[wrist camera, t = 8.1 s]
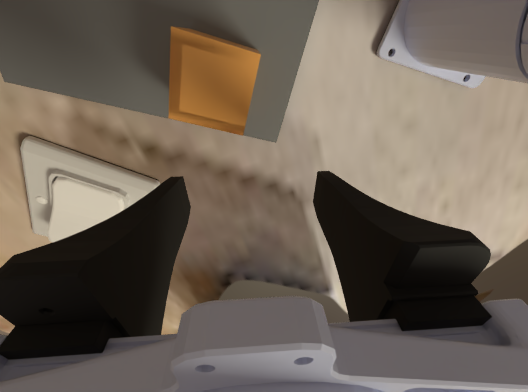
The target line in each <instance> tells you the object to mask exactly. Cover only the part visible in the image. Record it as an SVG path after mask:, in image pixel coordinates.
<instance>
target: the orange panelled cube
mask: <svg viewBox="0 0 528 392" xmlns="http://www.w3.org/2000/svg"><path fill="white" fill-rule="evenodd" d="M260 57H261V54H260V52H259V51H258V50H256V49H253V48H250V47H247V46H243V45H240V44H237V43H234V42H231V41H228V40H224V39H221V38H218V37H215V36H212V35H209V34H205V33H202V32H199V31H196V30H193V29H189V28H181V27H173V26H171V40H170V78H169V116H168V118H170V119H174V120H179V121H183V122H187V123H191V124H196V125H200V126H204V127H208V128H213V129H217V130H221V131H226V132H230V133H234V134H238V135H243V134H244V129H245V125H246V120H247V116H248V111H249V107H250V102H251V98H252V93H253V88H254V84H255V79H256V75H257V70H258V66H259V61H260Z"/></svg>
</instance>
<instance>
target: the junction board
mask: <svg viewBox="0 0 528 392" xmlns="http://www.w3.org/2000/svg"><path fill="white" fill-rule="evenodd" d="M318 2H319V0H0V71H1V74H2V77H3V79H4V82H8V83H13V84H17V85H22V86H26V87H31V88H35V89H40V90H44V91H48V92H53V93H57V94H62V95H66V96H71V97H75V98H80V99H84V100H89V101H93V102H97V103H102V104H106V105H111V106H115V107H120V108H124V109H129V110H133V111H138V112H142V113H146V114H151V115H155V116H160V117H164V118H168V116H169V78H170V40H171V26H173V27H181V28H189V29H193V30H196V31H199V32H202V33H205V34H209V35H212V36H215V37H218V38H221V39H224V40H228V41H231V42H234V43H237V44H240V45H243V46H247V47H250V48H253V49H256V50H258V51H259V52H260V54H261V57H260V61H259V66H258V70H257V75H256V79H255V84H254V88H253V93H252V98H251V102H250V107H249V111H248V116H247V120H246V125H245V129H244V134H243V135H244V136H249V137H253V138H258V139H262V140H267V141H271V142H276V141H277V138H278V135H279V131H280V128H281V125H282V121H283V118H284V115H285V111H286V108H287V105H288V101H289V98H290V95H291V91H292V88H293V85H294V81H295V78H296V75H297V71H298V68H299V65H300V62H301V58H302V55H303V52H304V48H305V45H306V42H307V38H308V35H309V32H310V28H311V25H312V22H313V18H314V15H315V12H316V8H317V5H318ZM169 119H170V118H169ZM173 120H174V119H173ZM178 121H179V120H178ZM182 122H183V121H182ZM186 123H187V122H186ZM195 125H196V124H195Z"/></svg>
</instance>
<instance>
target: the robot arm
mask: <svg viewBox="0 0 528 392" xmlns="http://www.w3.org/2000/svg"><path fill="white" fill-rule="evenodd" d="M390 49H392V50H393V52H392V54H391V55H390V56H388V52H389V50H390ZM377 55H378V57H379V58H382V59H385V60H388V61H391V62H394V63H397V64H400V65H403V66H406V67H409V68H412V69H415V70H418V71H421V72H424V73H427V74H430V75H433V76H436V77H439V78H442V79H445V80H448V81H451V82H454V83H457V84H460V85H463V86H466V87H469V88H476V87H477V86H479V85H480V84H481V82H482V81H483V80H484V78H485V77H486V76H487V77H493V78H499V79H504V80H510V81H516V82H522V83H528V0H400V1H399V3H398V5H397V7H396V10H395V12H394V14H393V16H392V18H391V21H390V23H389V25H388V27H387V29H386V32H385V34H384V36H383V38H382V40H381V42H380V45H379V47H378V49H377ZM465 76H466V78H465V80H463V79H464V77H465ZM313 204H314V208H315V212H316V215H317V218H318V221H319V223H320V226H321V228H322V230H323V233H324V235H325V237H326V240H327V242H328V245H329V247H330V249H331V252H332V255H333V258H334V261H335V265H336V268H337V271H338V275H339V279H340V282H341V286H342V290H343V294H344V298H345V302H346V306H347V311H348V315H349V320H350V322H341V323H327V319H326V316H325V312H324V309H323V305H321V304H320V303H318V302H316V301H314V300H312V299H310V298H309V297H299V296H282V297H266V298H252V299H251V298H250V299H235V300H219V301H209V302H205V303H200V304H196V305H194V306H193V307H191V308H190V309H189V310H187V311H186V312H184V313H183V314H182V316H181V320H180V325H179V329H178V333H177V334H168V335H161V331H162V324H163V318H164V312H165V306H166V300H167V295H168V290H169V285H170V280H171V275H172V271H173V266H174V263H175V259H176V256H177V253H178V250H179V247H180V244H181V242H182V239H183V236H184V233H185V230H186V227H187V224H188V219H189V214H190V208H191V206H190V202H189V198H188V194H187V190H186V186H185V182H184V178H183V177H170V178H169V179H167V180H166V181H164V182H163V183H162V184H160V185H159V186H158V187H156V188H155V189H154V190H152V191H151V192H150V193H148V194H147V195H146V196H144V197H143V198H141V199H140V200H138V201H137V202H135V203H134V204H132V205H131V206H129V207H128V208H126V209H124V210H123V211H121V212H119V213H118V214H116V215H114V216H112V217H110V218H109V219H107V220H105V221H103V222H100V223H98V224H96V225H94V226H92V227H90V228H88V229H86V230H83V231H81V232H79V233H76V234H74V235H71V236H69V237H66V238H64V239H61V240H58V241H56V242H53V243H50V244H47V245H44V246H41V247H38V248H35V249H32V250H29V251H26V252H23V253H20V254H16V255H14V256H12V257H11V258H10V259H9V260H8V261H7V262H6V263H5V264H4V265H3V266H2V267H1V268H0V315H1V316H2V317H4V318H5V319H7V320H8V321H9V322H11V323H12V324H13V325H15V327H14V329H13V330H12V331H11V332H10V334H9V335H8V336H6V335H1V334H0V392H528V305H527V304H526V303H524V302H523V301H522V300H521V299H506V300H492V301H487V302H485V303H482V304H481V303H480V302H479V301H478V300H477V299H476V298H475V296H476V295H477V294H478V291H477V290H476V289H475V287H474V286H473V285H472V284H471V283H472V282H473V281H474V279H475V278H476V277H477V276H478V275H479V274H480V273H481V272H482V271H483V269H484V268H485V267H486V266H487V264H488V263H489V260H490V256H491V253H490V249H489V248H488V247H487V246H486V245H484V244H483V243H482V242H481V241H480V240H479V239H478V238H477V237H476V236H475V235H473V234H472V233H471V232H470V231H465V230H461V229H457V228H453V227H449V226H445V225H441V224H437V223H434V222H431V221H427V220H424V219H421V218H418V217H415V216H412V215H409V214H407V213H404V212H402V211H399V210H396V209H394V208H392V207H389V206H387V205H385V204H383V203H381V202H379V201H377V200H375V199H373V198H371V197H369V196H368V195H366V194H364V193H362V192H361V191H359V190H357V189H356V188H354V187H353V186H351V185H350V184H348V183H347V182H345V181H344V180H342V179H341V178H339V177H338V176H336V175H335V174H333V173H331V172H330V171H318V172H317V179H316V186H315V192H314V199H313Z"/></svg>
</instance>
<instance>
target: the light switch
mask: <svg viewBox="0 0 528 392" xmlns="http://www.w3.org/2000/svg"><path fill="white" fill-rule="evenodd" d="M20 150H21V156H22V163H23V170H24V176H25V183H26V189H27V196H28V203H29V209H30V216H31V222H32V229H33V233H35V234H39V235H43V236H47V237H48V238H49V241H51V242H56V241H58V240H61V239H64V238H66V237H69V236H71V235H74V234H76V233H79V232H81V231H83V230H86V229H88V228H90V227H92V226H94V225H96V224H98V223H100V222H103V221H105V220H107V219H109V218H110V217H112V216H114V215H116V214H118V213H119V212H121V211H123V210H124V209H126V208H128V207H129V206H131V205H132V204H134V203H135V202H137V201H138V200H140V199H141V198H143V197H144V196H146V195H147V194H148V193H150V192H151V191H152V190H154V189H155V188H156V187H158V186H159V185H160V183H159V181H158V180H155V179H152V178H149V177H146V176H144V175H141V174H138V173H135V172H132V171H129V170H127V169H124V168H121V167H118V166H115V165H112V164H110V163H107V162H104V161H101V160H98V159H95V158H93V157H90V156H87V155H84V154H81V153H78V152H76V151H73V150H70V149H67V148H64V147H61V146H59V145H56V144H53V143H50V142H47V141H44V140H42V139H39V138H36V137H33V136H28V137H26V138H24V140H23V141H22V145H21V148H20Z"/></svg>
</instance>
